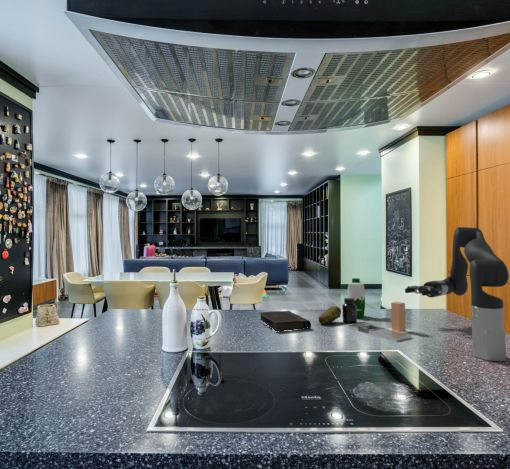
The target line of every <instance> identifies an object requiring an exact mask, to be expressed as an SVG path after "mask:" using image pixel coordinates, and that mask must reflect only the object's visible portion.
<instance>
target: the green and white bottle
mask: <svg viewBox="0 0 510 469" xmlns="http://www.w3.org/2000/svg"><path fill="white" fill-rule="evenodd" d="M365 289H366V288H365V284H364V282H361V279H360V278H358V277H357V278H356V277H355V278H354V277H353V278H351V281H349V282H348V284H347V298H354V304H356V307H357V319H364V317H365V309H366V292H365Z"/></svg>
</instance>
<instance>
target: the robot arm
mask: <svg viewBox="0 0 510 469" xmlns="http://www.w3.org/2000/svg"><path fill="white" fill-rule="evenodd" d="M484 236H485V235H484V234H483V231H482V230H481V228H477V227H467V226H458V227H456V228H455V230H454V232H453V237H452V251H451V252H452V254H451V256H452V260H451V267H450V271H449V276H448V277H446V278H444V279H443V280H431V281H430V280H429V281H427V282H424V283H423V284H422V285H411V286H410V285H408V286H406V288H404V290H405V291H404V292H405V294H409V293H412V294H413V293H415V294H420V295H421V296H426V297H427V298H437V297H442V296H446V295H451V294H455V295H456V296H460V297H461V296H464V295H465V294H466V293H467V291H468V286H469V284H468V278H467V274H468V270H469V280H470V295H471V296H470V297H471V298H470V299H471V301H470V302H471V303H470V304H471V336H472V338H471V340H472V341H471V342H472V355H473V357H476V358H478V359H481V360H485V361H488V362H489V361H490V362H491V361H492V362H493V361H494V362H495V361H496V362H498V361H499V362H500V361H501V362H502V361H503V362H506V361H507V356H506V355H507V353H506V352H507V351H506V332H505V327H504V326H505V322H504V318H505V317H504V300H503V299H502V298H500V297H497V296H494V295H492V294H489V293H488V292H485V291H484V289H483V287H484V288H485V287H488V288H492V287H493V288H499V287H504V286H505V285H507V283H508V281H509V278H510V275H509V269H508V267H507V265H506V263H505V262H504V261H503V260H502V259H501V258H500V257H499V256H498V255H496V253H495V252H494V251H493V249H492V247H491V246H490V244H488V242H487V241H486V239H485V237H484ZM461 248H464V249H463V250H464V251H463V252H464V253H462V251H461ZM463 254H464V255H463Z"/></svg>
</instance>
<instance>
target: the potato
mask: <svg viewBox="0 0 510 469" xmlns="http://www.w3.org/2000/svg"><path fill="white" fill-rule="evenodd" d="M341 315H342V310H341V308H340V307H339V306H336V305H335V306H334V305H332V306H330V307H329V308H327V309H326V310H325V311H324V312H323V313H322V314H320V316H319V317H318V322H319V323H320V324H321V325H327V324H331V323H332V322H334V321H335V320H337V319H338V318H341Z"/></svg>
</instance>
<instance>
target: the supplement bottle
mask: <svg viewBox="0 0 510 469" xmlns="http://www.w3.org/2000/svg"><path fill="white" fill-rule="evenodd" d="M341 308H342V310H341V312H342V323H343V324H345V325H353V324H358V318H357V307H356V304H354V298H348V297H345V298H343V303H342V306H341Z"/></svg>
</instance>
